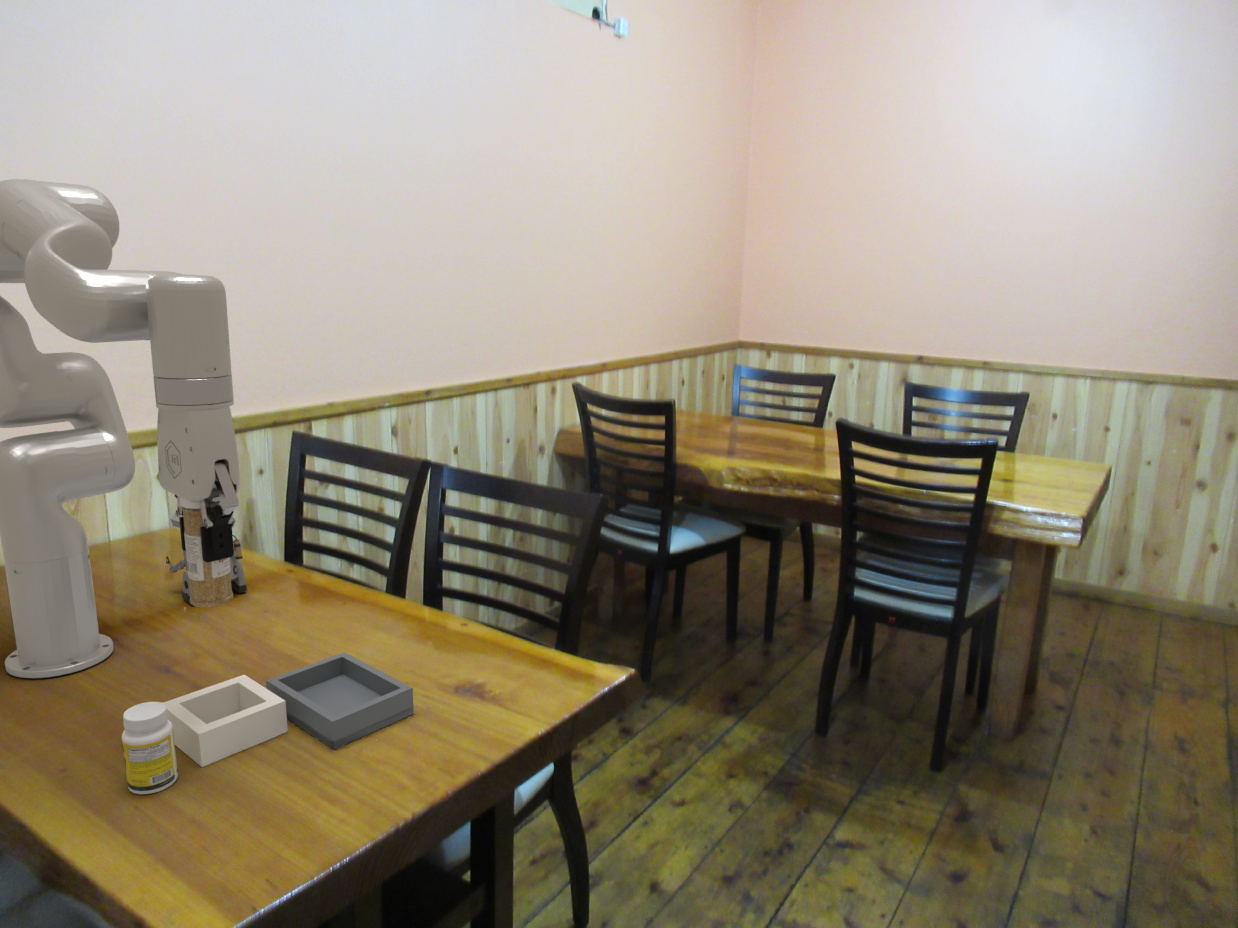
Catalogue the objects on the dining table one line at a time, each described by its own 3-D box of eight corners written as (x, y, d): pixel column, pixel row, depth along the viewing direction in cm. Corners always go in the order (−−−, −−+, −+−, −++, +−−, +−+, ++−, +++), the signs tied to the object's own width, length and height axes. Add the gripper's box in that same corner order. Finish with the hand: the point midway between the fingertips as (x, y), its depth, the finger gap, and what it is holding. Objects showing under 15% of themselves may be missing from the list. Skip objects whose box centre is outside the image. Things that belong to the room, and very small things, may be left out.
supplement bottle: (140, 770, 92) (132, 699, 90) (185, 768, 92) (178, 698, 90) (118, 796, 87) (109, 722, 85) (166, 795, 87) (158, 721, 86)
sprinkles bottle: (236, 604, 95) (228, 489, 92) (192, 611, 93) (181, 494, 90) (229, 591, 99) (221, 480, 96) (186, 598, 97) (176, 484, 94)
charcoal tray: (268, 705, 106) (266, 680, 105) (345, 675, 114) (344, 651, 113) (334, 749, 96) (332, 721, 96) (413, 713, 105) (412, 687, 104)
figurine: (223, 578, 149) (216, 496, 146) (251, 595, 142) (244, 509, 139) (168, 591, 143) (159, 505, 140) (194, 609, 135) (185, 519, 132)
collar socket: (163, 734, 99) (159, 703, 98) (246, 703, 106) (244, 674, 105) (202, 767, 92) (198, 734, 92) (287, 731, 100) (285, 700, 99)
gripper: (125, 386, 93) (141, 544, 97) (194, 405, 83) (208, 581, 87) (195, 381, 99) (207, 530, 103) (267, 398, 88) (277, 563, 92)
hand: (207, 552), depth 95 cm, fingers closed on sprinkles bottle, 4 cm apart
